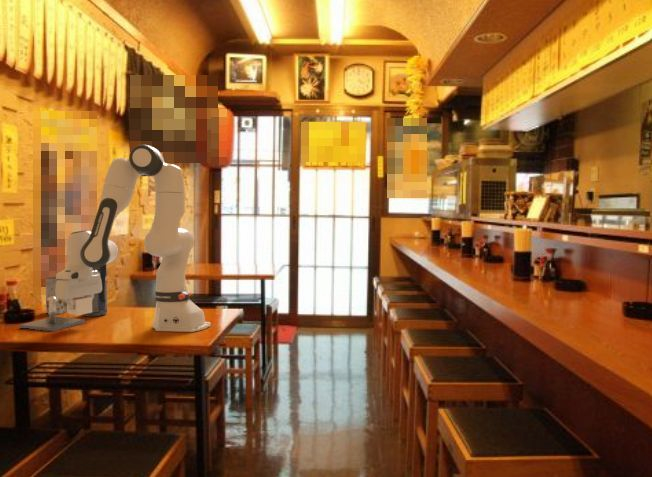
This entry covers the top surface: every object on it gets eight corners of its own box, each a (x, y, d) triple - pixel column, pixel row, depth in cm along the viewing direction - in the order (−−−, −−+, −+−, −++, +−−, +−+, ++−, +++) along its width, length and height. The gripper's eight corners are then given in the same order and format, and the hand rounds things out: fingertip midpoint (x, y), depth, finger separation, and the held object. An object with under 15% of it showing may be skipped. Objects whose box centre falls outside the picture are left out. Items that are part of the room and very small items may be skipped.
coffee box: (61, 314, 220) (60, 278, 219) (45, 314, 219) (45, 278, 218) (69, 310, 229) (68, 275, 228) (55, 310, 228) (54, 275, 227)
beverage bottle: (95, 318, 210) (93, 260, 209) (75, 315, 217) (74, 258, 215) (115, 314, 219) (114, 258, 218) (96, 311, 225) (95, 256, 224)
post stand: (84, 322, 202) (84, 294, 202) (52, 331, 187) (51, 301, 186) (53, 320, 207) (53, 292, 206) (19, 328, 192) (18, 299, 191)
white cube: (83, 310, 197) (82, 295, 197) (92, 312, 194) (91, 296, 193) (67, 313, 192) (66, 297, 192) (76, 315, 188) (75, 299, 188)
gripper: (93, 269, 203) (93, 302, 203) (52, 275, 183) (52, 312, 184) (106, 269, 201) (106, 303, 201) (65, 275, 181) (66, 313, 182)
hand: (80, 307), depth 192 cm, fingers closed on white cube, 7 cm apart
